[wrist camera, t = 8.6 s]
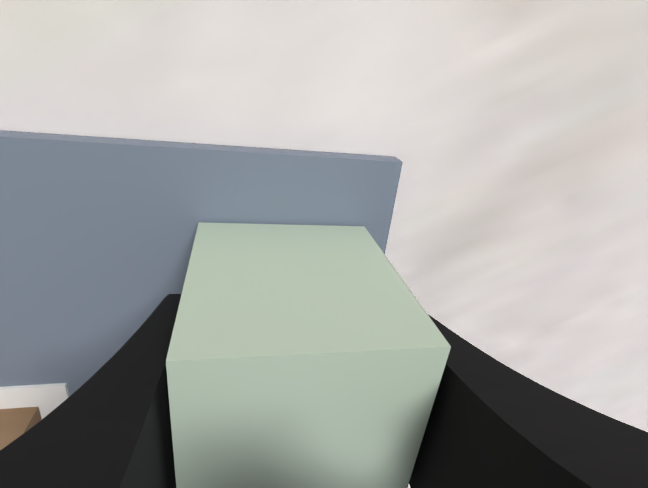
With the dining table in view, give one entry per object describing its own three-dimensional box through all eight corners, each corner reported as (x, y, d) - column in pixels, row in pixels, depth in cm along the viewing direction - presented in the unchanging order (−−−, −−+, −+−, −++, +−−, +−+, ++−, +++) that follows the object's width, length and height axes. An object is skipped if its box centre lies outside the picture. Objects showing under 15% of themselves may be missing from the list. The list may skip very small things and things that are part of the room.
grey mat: (320, 557, 19) (322, 574, 19) (-67, 623, 16) (-79, 646, 15) (394, 156, 11) (403, 163, 10) (-406, 103, 7) (-466, 108, 7)
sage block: (343, 350, 13) (399, 510, 8) (202, 357, 12) (180, 542, 7) (364, 226, 11) (450, 346, 6) (198, 222, 10) (165, 361, 5)
